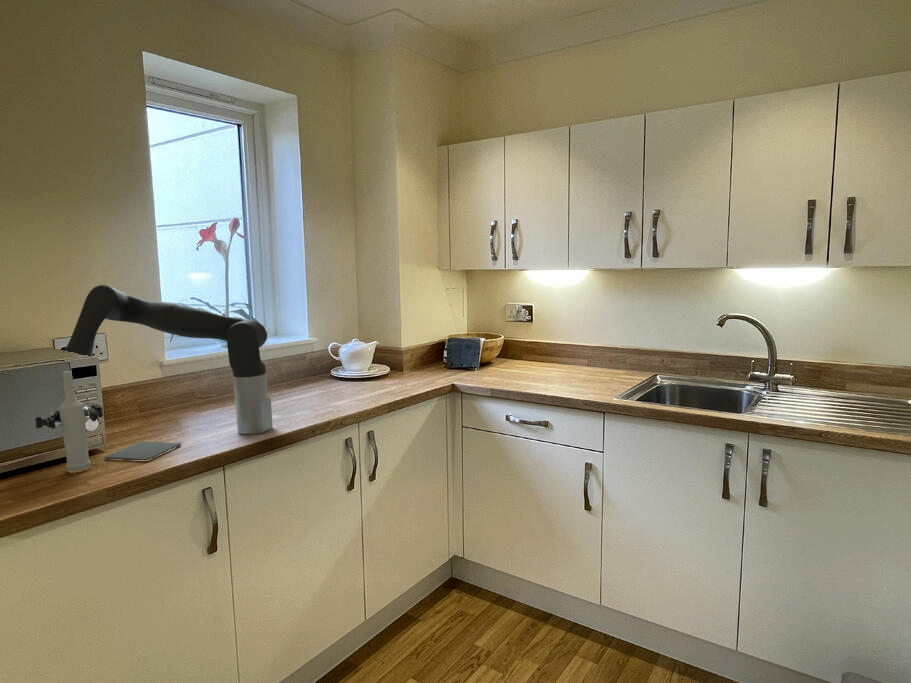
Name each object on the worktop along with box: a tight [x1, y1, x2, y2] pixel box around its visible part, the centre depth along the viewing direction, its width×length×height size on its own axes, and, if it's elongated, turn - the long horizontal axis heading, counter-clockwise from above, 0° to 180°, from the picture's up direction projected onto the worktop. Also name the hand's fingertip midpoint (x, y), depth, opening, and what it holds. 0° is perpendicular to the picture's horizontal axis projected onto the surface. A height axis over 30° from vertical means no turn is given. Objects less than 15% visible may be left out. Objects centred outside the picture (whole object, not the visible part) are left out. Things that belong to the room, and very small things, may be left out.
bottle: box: [59, 371, 92, 472], centre depth 142 cm, size 5×5×25 cm
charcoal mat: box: [104, 441, 182, 460], centre depth 156 cm, size 13×13×1 cm
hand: (74, 420), depth 141 cm, fingers open, 8 cm apart
